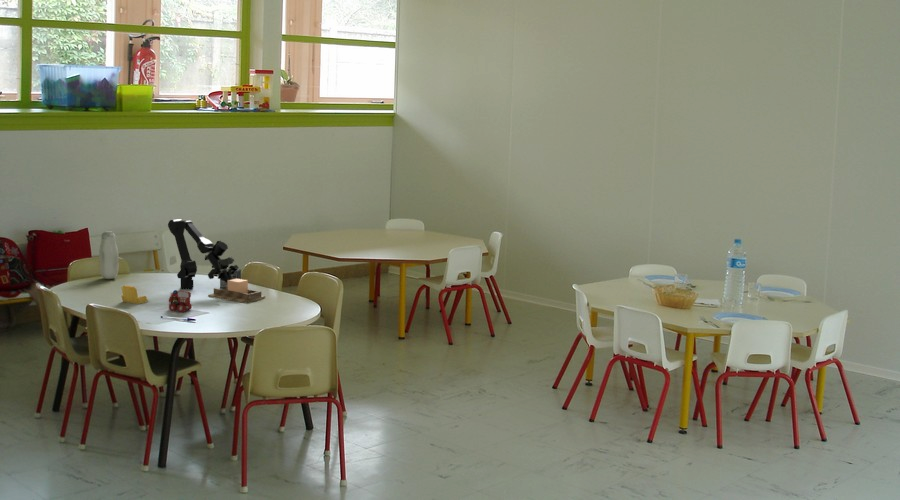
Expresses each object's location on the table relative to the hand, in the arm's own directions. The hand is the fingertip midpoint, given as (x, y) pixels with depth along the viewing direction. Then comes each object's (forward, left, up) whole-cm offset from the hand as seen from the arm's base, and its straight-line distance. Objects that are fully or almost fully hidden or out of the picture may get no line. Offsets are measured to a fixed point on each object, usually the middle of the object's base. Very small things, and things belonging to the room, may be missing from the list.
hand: (231, 283), depth 532 cm
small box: (0, +24, -7) cm, 25 cm away
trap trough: (+3, -3, -7) cm, 8 cm away
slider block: (+3, -3, -6) cm, 7 cm away
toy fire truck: (-27, -32, -7) cm, 42 cm away
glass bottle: (-67, +56, -7) cm, 87 cm away
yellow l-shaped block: (-50, -9, -7) cm, 51 cm away
